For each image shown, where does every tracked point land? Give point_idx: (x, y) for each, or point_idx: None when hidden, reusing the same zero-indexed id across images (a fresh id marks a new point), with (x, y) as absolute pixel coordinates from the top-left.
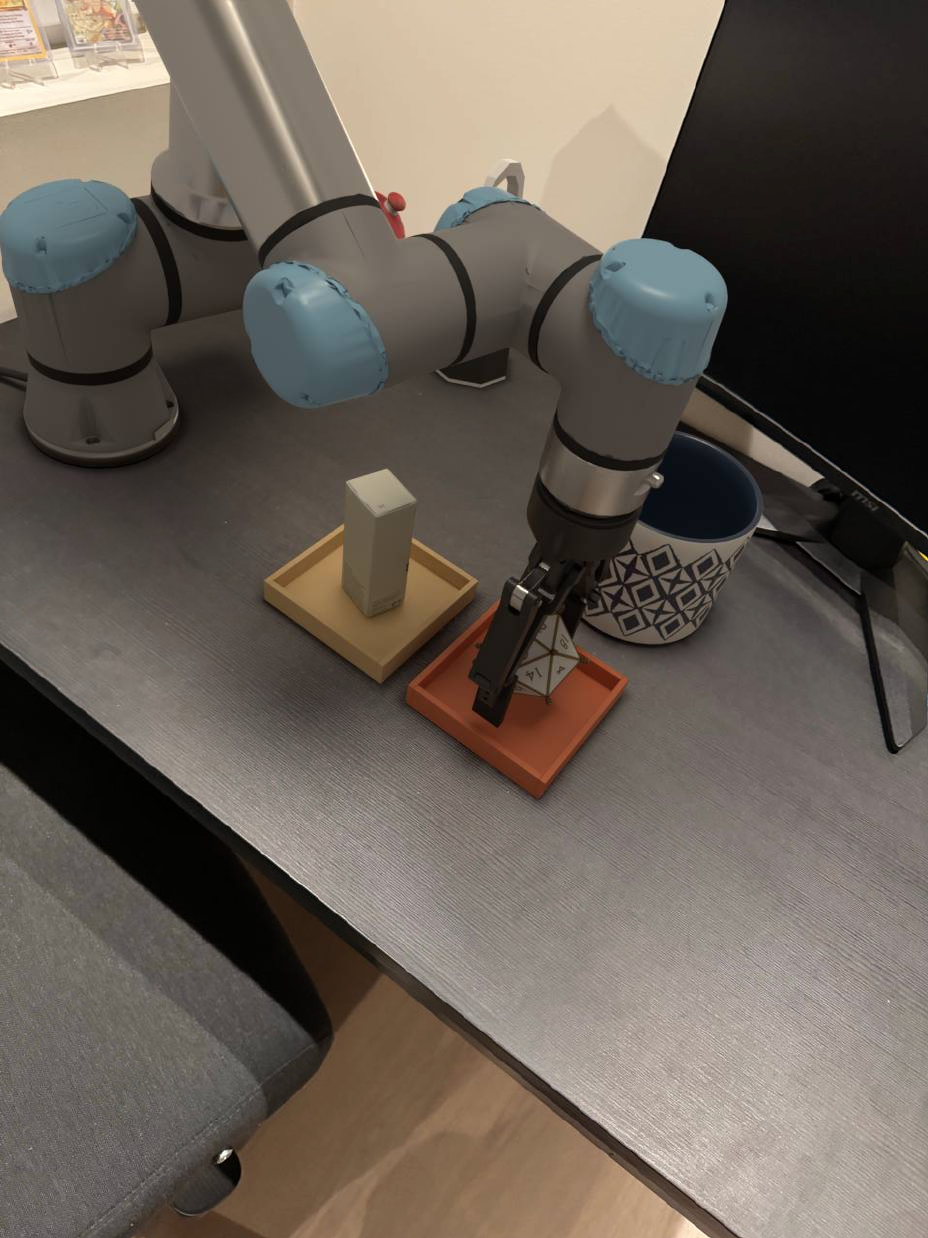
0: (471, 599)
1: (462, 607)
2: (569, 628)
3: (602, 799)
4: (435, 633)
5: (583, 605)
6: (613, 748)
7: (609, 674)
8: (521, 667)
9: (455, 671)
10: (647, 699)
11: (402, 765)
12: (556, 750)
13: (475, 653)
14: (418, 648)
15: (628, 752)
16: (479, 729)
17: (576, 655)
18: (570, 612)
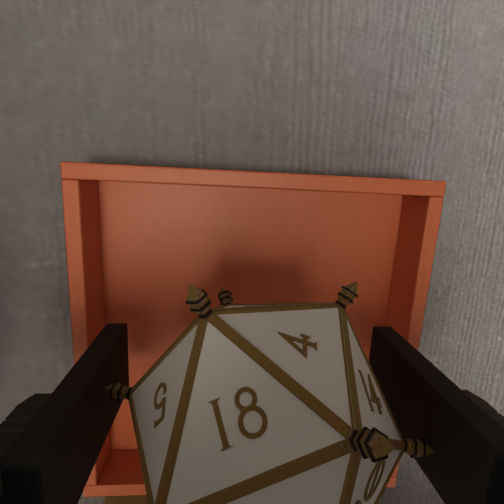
0: (115, 501)
1: (144, 501)
2: (94, 388)
3: (340, 75)
4: None
5: (19, 467)
6: (219, 113)
7: (83, 210)
8: (390, 438)
9: None
10: (48, 108)
11: (470, 382)
12: (311, 205)
13: None
14: None
15: (206, 80)
16: None
17: (215, 336)
18: (68, 450)
